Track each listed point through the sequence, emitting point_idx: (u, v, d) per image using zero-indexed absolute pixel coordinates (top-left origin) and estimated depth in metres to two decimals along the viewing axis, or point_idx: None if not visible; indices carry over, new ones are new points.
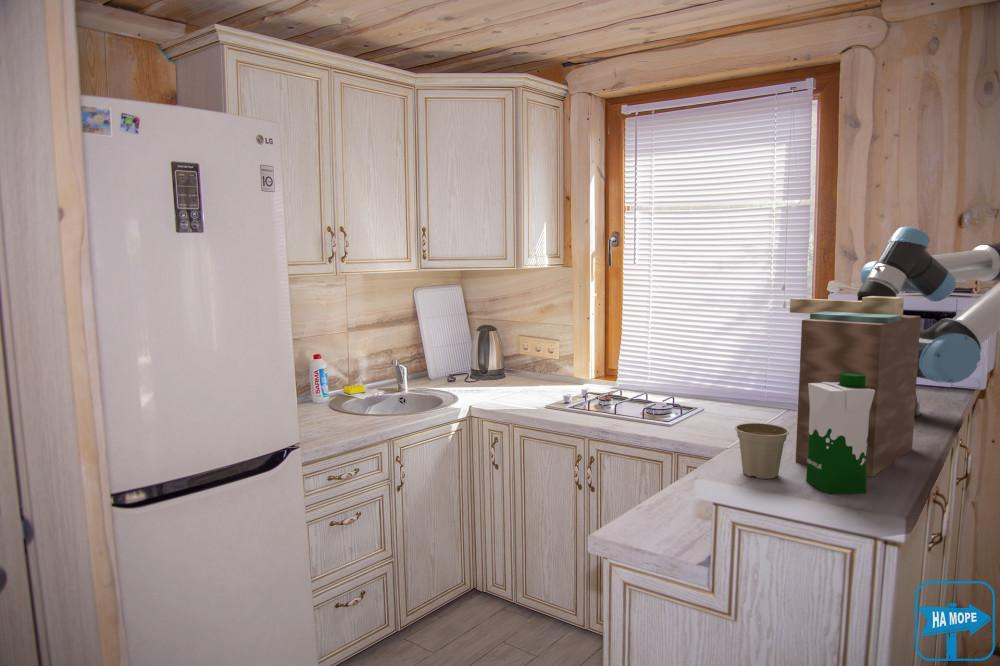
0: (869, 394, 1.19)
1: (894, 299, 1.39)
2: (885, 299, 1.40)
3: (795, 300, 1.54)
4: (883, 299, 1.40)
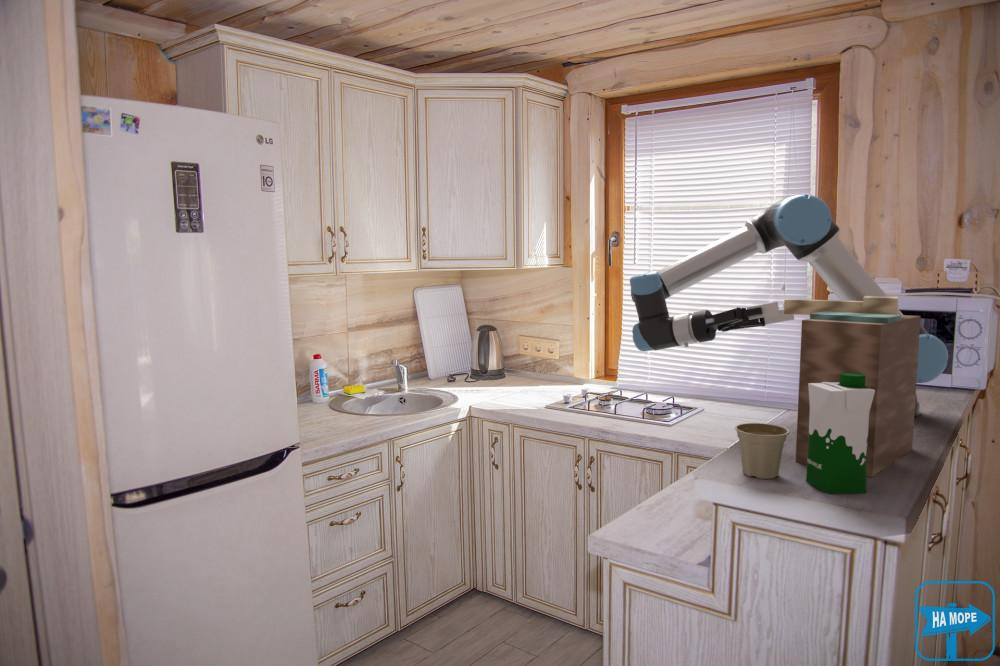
0: (869, 394, 1.19)
1: (896, 299, 1.39)
2: (887, 299, 1.40)
3: (790, 301, 1.51)
4: (885, 299, 1.40)
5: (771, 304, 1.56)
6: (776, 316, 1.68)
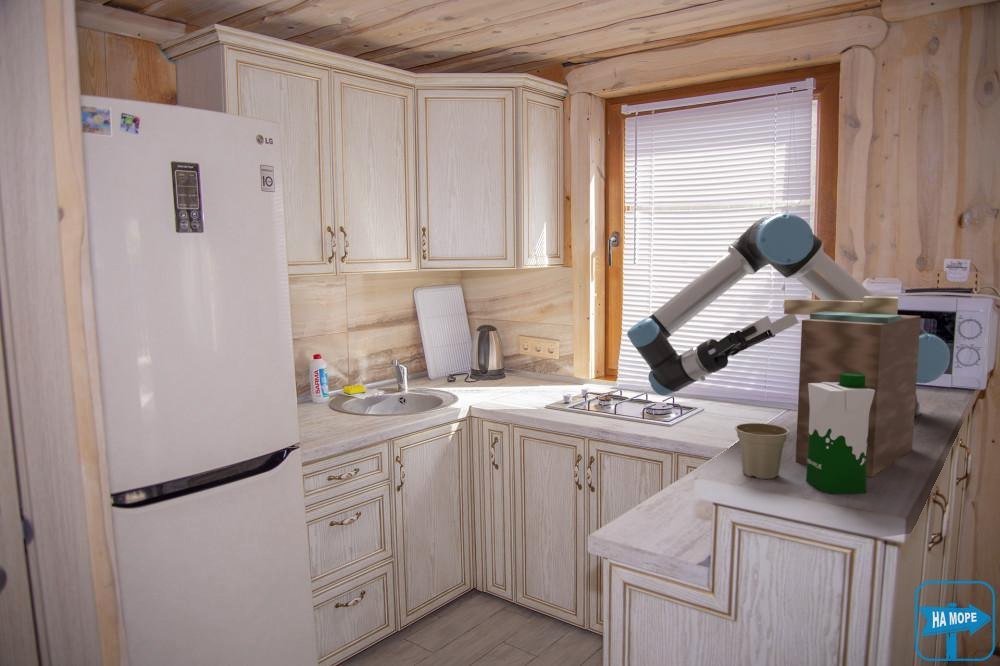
0: (869, 394, 1.19)
1: (896, 299, 1.39)
2: (887, 299, 1.40)
3: (790, 301, 1.51)
4: (885, 299, 1.40)
5: (762, 320, 1.53)
6: (780, 324, 1.64)
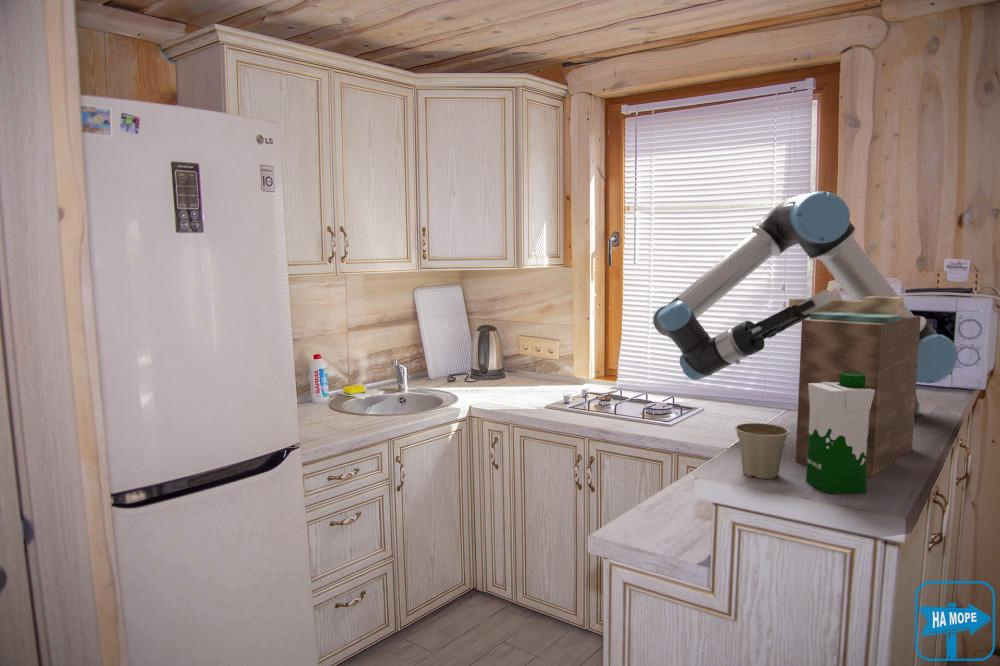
0: (869, 394, 1.19)
1: (895, 299, 1.39)
2: (886, 299, 1.40)
3: (794, 300, 1.53)
4: (884, 299, 1.40)
5: (821, 293, 1.48)
6: None
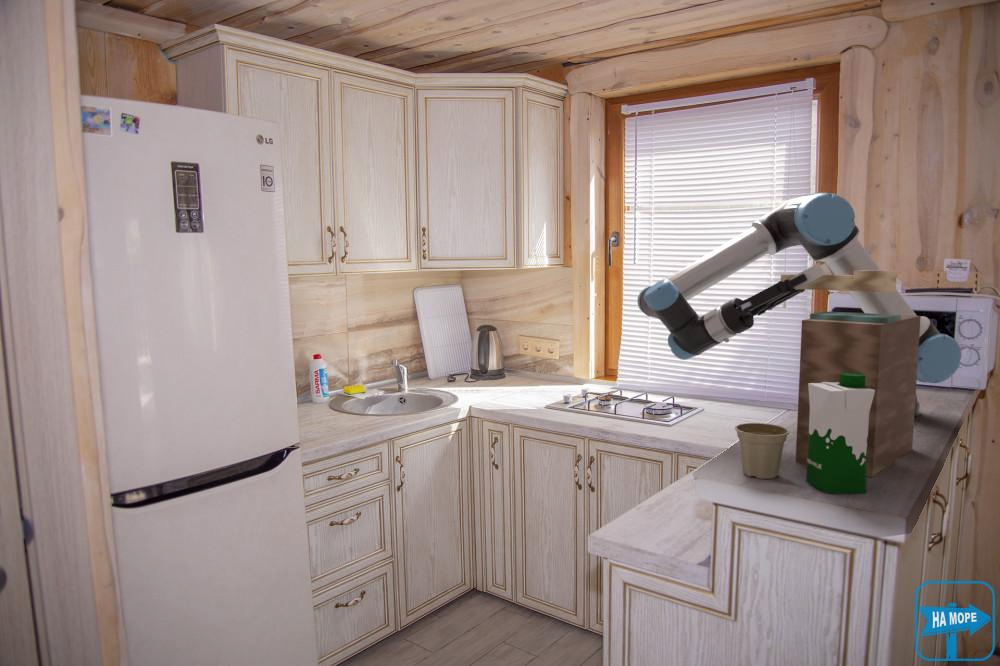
0: (869, 394, 1.19)
1: (886, 272, 1.35)
2: (877, 272, 1.36)
3: (786, 276, 1.50)
4: (875, 272, 1.36)
5: (813, 267, 1.45)
6: None
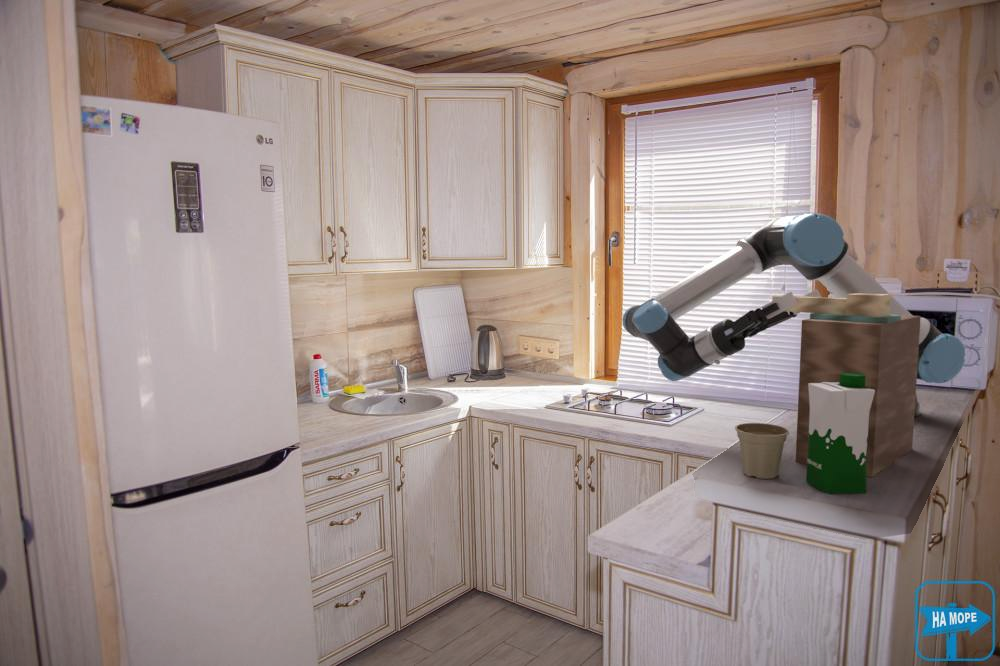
0: (869, 394, 1.19)
1: (880, 296, 1.31)
2: (871, 296, 1.33)
3: (777, 297, 1.46)
4: (868, 296, 1.33)
5: (785, 296, 1.39)
6: None
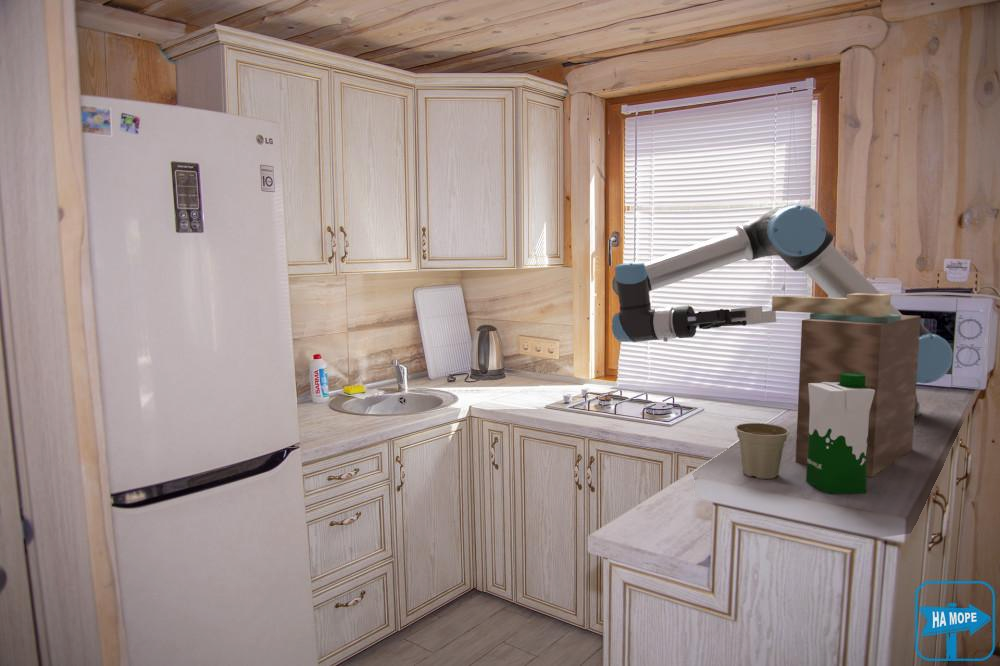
0: (869, 394, 1.19)
1: (880, 296, 1.31)
2: (871, 296, 1.33)
3: (777, 297, 1.46)
4: (868, 296, 1.33)
5: (755, 308, 1.53)
6: None
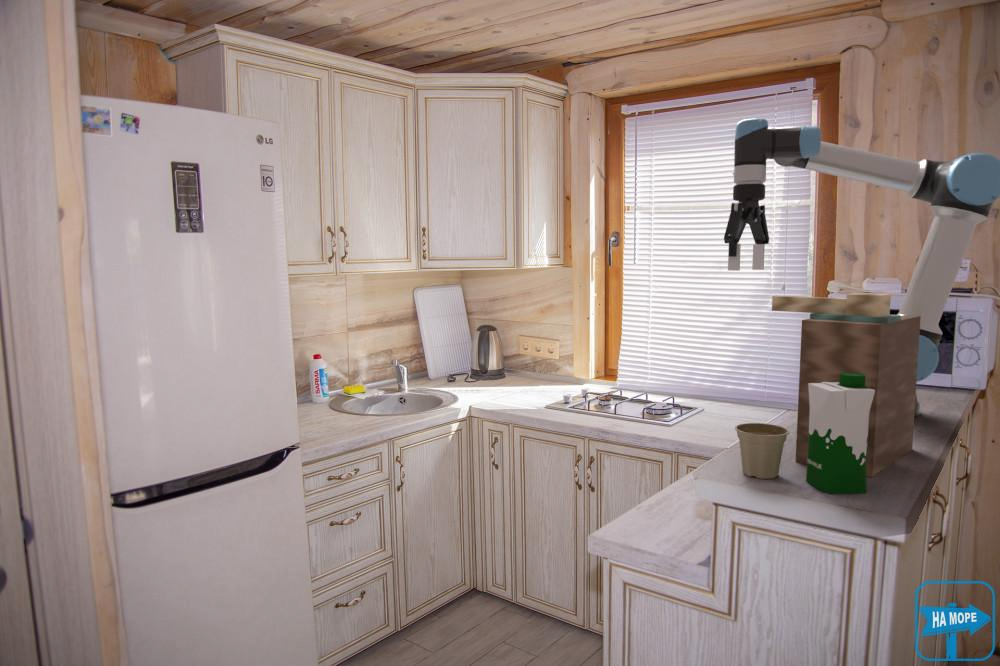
0: (869, 394, 1.19)
1: (880, 296, 1.31)
2: (871, 296, 1.33)
3: (777, 297, 1.46)
4: (868, 296, 1.33)
5: (737, 265, 1.72)
6: (757, 255, 1.83)
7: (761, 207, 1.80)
